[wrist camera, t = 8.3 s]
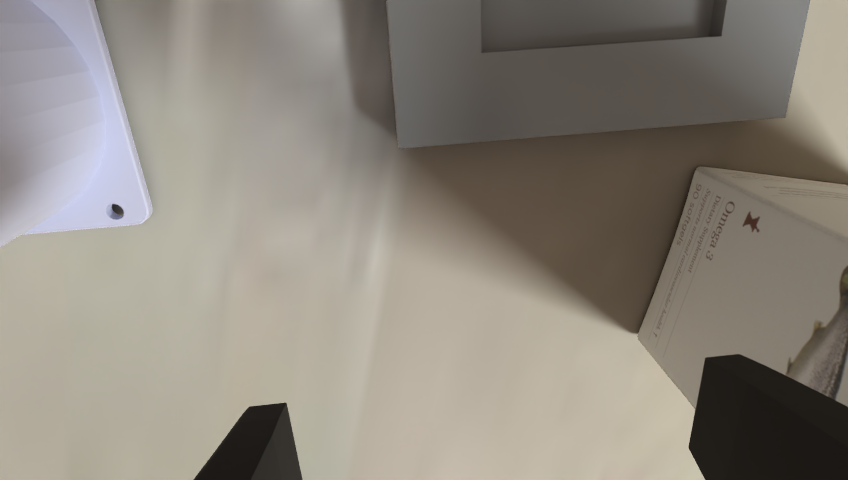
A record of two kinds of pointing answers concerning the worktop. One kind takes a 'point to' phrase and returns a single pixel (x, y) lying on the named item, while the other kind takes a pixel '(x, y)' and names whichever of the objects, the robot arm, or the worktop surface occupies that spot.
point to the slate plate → (586, 65)
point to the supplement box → (755, 281)
